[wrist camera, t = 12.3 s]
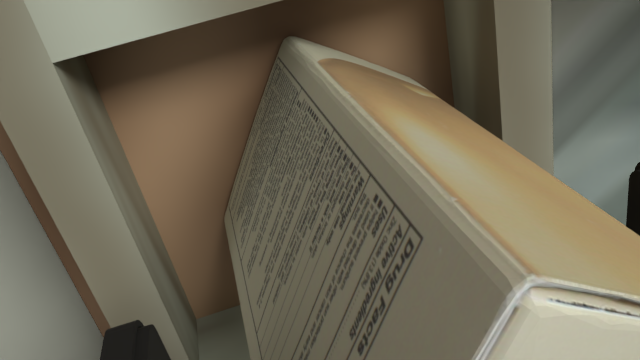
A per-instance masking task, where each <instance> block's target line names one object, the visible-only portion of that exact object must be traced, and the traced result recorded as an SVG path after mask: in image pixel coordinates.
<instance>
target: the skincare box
mask: <svg viewBox="0 0 640 360" xmlns="http://www.w3.org/2000/svg"><path fill="white" fill-rule="evenodd" d="M224 222H225V228H226V233H227V238H228V243H229V249H230V254H231V259H232V264H233V269H234V274H235V279H236V285H237V290H238V295H239V300H240V306H241V312H242V317H243V322H244V327H245V333H246V338H247V343H248V348H249V353H250V359H251V360H640V236H639V235H638V234H636V233H635V232H633V231H632V230H630V229H629V228H628V227H626V226H625V225H623V224H622V223H620V222H619V221H617V220H616V219H615V218H613V217H612V216H610V215H609V214H607V213H606V212H604V211H603V210H601V209H600V208H599V207H597V206H596V205H594V204H593V203H591V202H590V201H589V200H587V199H586V198H584V197H583V196H581V195H580V194H579V193H577V192H576V191H574V190H573V189H571V188H570V187H568V186H567V185H565V184H564V183H562V182H561V181H560V180H558V179H557V178H555V177H554V176H552V175H551V174H550V173H548V172H547V171H545V170H544V169H542V168H541V167H539V166H538V165H536V164H535V163H534V162H532V161H531V160H529V159H528V158H526V157H525V156H523V155H522V154H520V153H519V152H517V151H516V150H515V149H513V148H512V147H510V146H509V145H508V144H506V143H505V142H503V141H502V140H500V139H499V138H497V137H496V136H495V135H493V134H492V133H490V132H489V131H487V130H486V129H484V128H483V127H481V126H480V125H478V124H477V123H475V122H474V121H472V120H471V119H470V118H468V117H467V116H465V115H464V114H462V113H461V112H459V111H458V110H456V109H455V108H454V107H452V106H451V105H449V104H448V103H446V102H445V101H443V100H442V99H440V98H439V97H438V96H436V95H435V94H433V93H432V92H431V91H429V90H428V89H426V88H425V87H423V86H422V85H420V84H419V83H418V82H416V81H415V80H413V79H411V78H410V77H407V76H405V75H402V74H399V73H397V72H394V71H392V70H389V69H387V68H384V67H381V66H379V65H376V64H373V63H370V62H368V61H365V60H362V59H360V58H357V57H354V56H351V55H349V54H346V53H343V52H340V51H337V50H334V49H331V48H328V47H325V46H322V45H319V44H316V43H314V42H311V41H308V40H305V39H301V38H298V37H294V36H290V37H287V38H285V39H284V40H283V42H282V44H281V47H280V49H279V52H278V55H277V57H276V60H275V63H274V65H273V68H272V71H271V73H270V76H269V79H268V82H267V85H266V87H265V90H264V93H263V96H262V99H261V102H260V105H259V107H258V110H257V113H256V116H255V119H254V122H253V125H252V128H251V132H250V135H249V138H248V141H247V144H246V147H245V150H244V153H243V156H242V159H241V163H240V166H239V169H238V172H237V175H236V179H235V182H234V185H233V189H232V192H231V196H230V199H229V203H228V206H227V210H226V213H225V217H224Z"/></svg>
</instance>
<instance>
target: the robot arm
mask: <svg viewBox="0 0 640 360" xmlns="http://www.w3.org/2000/svg"><path fill="white" fill-rule="evenodd" d="M626 227H628V228H629V229H630V230H632V231H633V232H635V233H636V234H638V235H639V236H640V162H639V163H638V164H637V166H636V167H635V171H634V172H632V173H631V175H630V178H629V191H628V206H627V222H626ZM100 360H171V359H170V356H169V354H168V352H167V350H166V348H165V346H164V344H163V342H162V340H161V338H160V336H159V334H158V332H157V330H156V328H155V326H154V325H153V324H150V325H147V326H144V325H143V323H142V322H141V321H140V320H135V321H132V322H129V323H126V324H123V325H119V326H116V327H113V328H110V329H107V330H106V331H105V335H104V340H103V346H102V352H101V358H100Z"/></svg>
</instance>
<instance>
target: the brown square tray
mask: <svg viewBox="0 0 640 360" xmlns="http://www.w3.org/2000/svg"><path fill="white" fill-rule="evenodd" d="M290 36H294V37H298V38H301V39H305V40H308V41H311V42H314V43H316V44H319V45H322V46H325V47H328V48H331V49H334V50H337V51H340V52H343V53H346V54H349V55H351V56H354V57H357V58H360V59H362V60H365V61H368V62H370V63H373V64H376V65H379V66H381V67H384V68H387V69H389V70H392V71H394V72H397V73H399V74H402V75H405V76H407V77H410V78H411V79H413V80H415V81H416V82H418V83H419V84H420V85H422V86H423V87H425V88H426V89H428V90H429V91H431V92H432V93H433V94H435V95H436V96H438V97H439V98H440V99H442V100H443V101H445V102H446V103H448V104H449V105H451V106H452V107H454V108H455V109H456V110H458V111H459V112H461V113H462V114H464V115H465V116H467V117H468V118H470V119H471V120H472V121H474V122H475V123H477V124H478V125H480V126H481V127H483V128H484V129H486V130H487V131H489V132H490V133H492V134H493V135H495V136H496V137H497V138H499V139H500V140H502V141H503V142H505V143H506V144H508V145H509V146H510V147H512V148H513V149H515V150H516V151H517V152H519V153H520V154H522V155H523V156H525V157H526V158H528V159H529V160H531V161H532V162H534V163H535V164H536V165H538V166H539V167H541V168H542V169H544V170H545V171H547V172H548V173H550V174H551V175H552V176H554V173H553V100H552V27H551V0H0V150H1V152H2V154H3V156H4V158H5V159H6V161H7V163H8V165H9V167H10V168H11V170H12V172H13V174H14V176H15V178H16V179H17V181H18V183H19V185H20V187H21V188H22V190H23V192H24V194H25V196H26V198H27V199H28V201H29V203H30V205H31V207H32V208H33V210H34V212H35V214H36V216H37V218H38V219H39V221H40V223H41V225H42V227H43V228H44V230H45V232H46V234H47V236H48V238H49V239H50V241H51V243H52V245H53V247H54V248H55V250H56V252H57V254H58V256H59V258H60V259H61V261H62V263H63V265H64V267H65V268H66V270H67V272H68V274H69V276H70V278H71V279H72V281H73V283H74V285H75V287H76V288H77V290H78V292H79V294H80V296H81V298H82V299H83V301H84V303H85V305H86V307H87V308H88V310H89V312H90V314H91V316H92V318H93V319H94V321H95V323H96V325H97V327H98V328H99V330H100V332H101V334H102V336H103V337H104V335H105V331H106V330H107V329H110V328H113V327H116V326H119V325H123V324H126V323H129V322H132V321H135V320H140V321H141V322H142V323H143V325H144V326H147V325H150V324H153V325H154V326H155V328H156V330H157V332H158V334H159V336H160V338H161V340H162V342H163V344H164V346H165V348H166V350H167V352H168V354H169V356H170V359H171V360H251V359H250V353H249V348H248V343H247V338H246V333H245V327H244V322H243V317H242V312H241V306H240V300H239V295H238V290H237V285H236V279H235V274H234V269H233V264H232V259H231V254H230V249H229V243H228V238H227V233H226V228H225V222H224V217H225V213H226V210H227V206H228V203H229V199H230V196H231V192H232V189H233V185H234V182H235V179H236V175H237V172H238V169H239V166H240V163H241V159H242V156H243V153H244V150H245V147H246V144H247V141H248V138H249V135H250V132H251V128H252V125H253V122H254V119H255V116H256V113H257V110H258V107H259V105H260V102H261V99H262V96H263V93H264V90H265V87H266V85H267V82H268V79H269V76H270V73H271V71H272V68H273V65H274V63H275V60H276V57H277V55H278V52H279V49H280V47H281V44H282V42H283V40H284V39H285V38H287V37H290Z"/></svg>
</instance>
